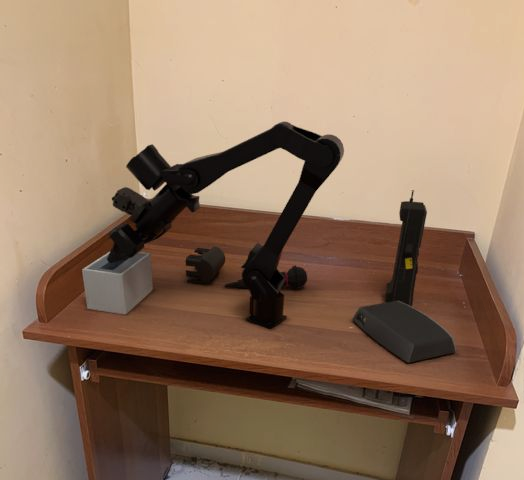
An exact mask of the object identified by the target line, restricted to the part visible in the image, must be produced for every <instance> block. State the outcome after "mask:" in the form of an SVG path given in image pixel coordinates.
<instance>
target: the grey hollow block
mask: <svg viewBox="0 0 524 480" xmlns="http://www.w3.org/2000/svg"><path fill="white" fill-rule="evenodd" d="M109 253H110V251H108V252H107V253H105V254H103V255H102V256H101V257H99V258H98V259H96V260H94V261H93V262H91V263H90V264H88V265H87V266H85V267H84V268H82V269H81V270H82V271H81V272H82V280H83V286H84V287H83V288H84V294H85V301H86V302H85V303H86V309H87V310H93V311H98V312H99V311H100V312H106V313H112V314H113V313H114V314H118V315H127V314H128V313H130V311H131V310H133V309H134V308H135V307H136V306H137V305H138V304H139V303H140V302H141V301H142V300H144V299H145V298H146V297H147V296H148V295H149V294H150V293H151V292H152V291H154V288H153V287H154V286H153V272H152V271H153V270H152V258H151V253H150V252H143V251H140V252H139V253H137V254H136V255H135V256H133V257H132V258H126V259H123V260H119V261H116V262H113V263H109V262H108V261H107V257H108V255H109Z"/></svg>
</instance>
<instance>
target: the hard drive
mask: <svg viewBox="0 0 524 480" xmlns="http://www.w3.org/2000/svg"><path fill="white" fill-rule="evenodd" d="M352 321H353V322H354V323H355V324H357V326H358V327H359V328H360V329H362V330H363V331H364V332H365V333H366V334H367V335H368V336H369V337H371V338H372V339H373V340H374V341H376V342H377V343H379V344H380V345H381V346H383V347H384V348H385V349H386V350H388V351H389V352H390V353H392V354H393V355H395V356H396V357H398V358H400V359H401V360H403V361H404V362H406V363H414V362H418V361H422V360H427V359H432V358H437V357H440V356H445V355H449V354H454V353H456V352H457V348H456V347H457V346H456V342H455V340H454V337H453V335H452V334H451V333H450V332H449V331H448V330H447V329H446V328H445V327H443V326H442V325H441V324H439V323H438V322H437V321H436V320H435V319H433V318H432V317H430V316H428V315H427V314H425V313H424V312H422V311H420V310H418V309H416V308H415V307H413V306H409V305H407V304H405V303H403V302H400V301H393V302H387V303H385V302H382V303H376V304H370V305H364V306H359V308H358V309H357V310H356V311H355V314H354V315H353V317H352Z"/></svg>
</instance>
